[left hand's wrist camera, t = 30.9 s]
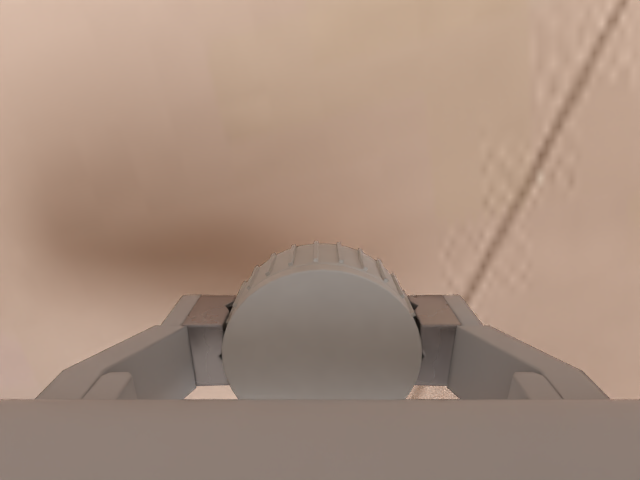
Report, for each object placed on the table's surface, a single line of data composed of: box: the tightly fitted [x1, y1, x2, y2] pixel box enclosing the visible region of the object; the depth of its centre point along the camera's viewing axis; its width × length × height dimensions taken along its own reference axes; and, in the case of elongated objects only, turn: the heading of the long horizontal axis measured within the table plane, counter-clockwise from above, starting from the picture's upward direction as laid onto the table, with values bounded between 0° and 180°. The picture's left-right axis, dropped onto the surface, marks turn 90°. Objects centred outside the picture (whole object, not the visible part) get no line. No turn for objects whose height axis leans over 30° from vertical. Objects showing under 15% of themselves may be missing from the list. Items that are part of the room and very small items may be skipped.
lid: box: [222, 241, 422, 399], centre depth 9 cm, size 5×5×2 cm
